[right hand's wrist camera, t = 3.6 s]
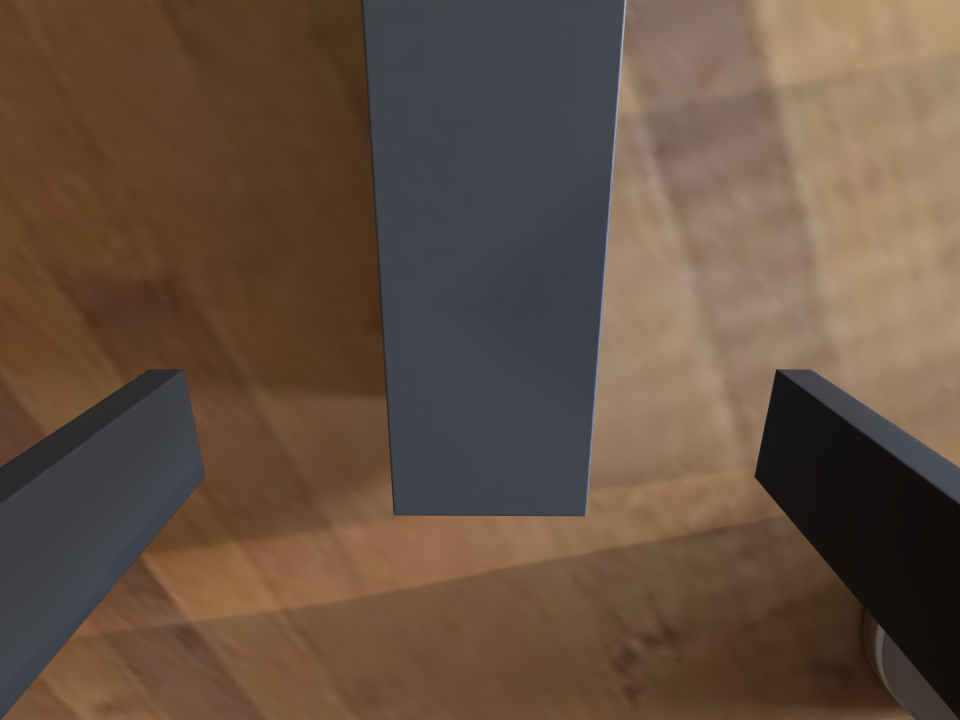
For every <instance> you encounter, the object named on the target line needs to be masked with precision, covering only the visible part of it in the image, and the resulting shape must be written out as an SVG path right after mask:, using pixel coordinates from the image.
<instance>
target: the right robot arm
mask: <svg viewBox="0 0 960 720" xmlns="http://www.w3.org/2000/svg"><path fill="white" fill-rule="evenodd" d="M204 478H205V472H204V467H203V462H202V457H201V452H200V447H199V442H198V437H197V432H196V428H195V423H194V418H193V413H192V408H191V403H190V398H189V393H188V388H187V383H186V378H185V374H184V370H148V371H146V372H145V373H143V374H142V375H140V376H139V377H137V378H136V379H134V380H133V381H131V382H129V383H128V384H126V385H125V386H123V387H122V388H120V389H119V390H117V391H116V392H114V393H113V394H111V395H110V396H108V397H107V398H105V399H104V400H102V401H101V402H99V403H98V404H96V405H95V406H93V407H92V408H90V409H89V410H87V411H86V412H84V413H83V414H81V415H80V416H78V417H77V418H75V419H74V420H72V421H71V422H69V423H68V424H66V425H64V426H63V427H61V428H60V429H58V430H57V431H55V432H54V433H52V434H51V435H49V436H48V437H46V438H45V439H43V440H42V441H40V442H39V443H37V444H36V445H34V446H33V447H31V448H30V449H28V450H27V451H25V452H24V453H22V454H21V455H19V456H18V457H16V458H15V459H13V460H12V461H10V462H9V463H7V464H6V465H4V466H2V467H1V468H0V720H1V719H2V718H3V717H4V715H5V714H6V713H7V712H8V711H9V710H10V708H11V707H12V706H13V705H14V704H15V702H16V701H17V700H18V699H19V698H20V696H21V695H22V694H23V693H24V692H25V691H26V689H27V688H28V687H29V686H30V685H31V683H32V682H33V681H34V680H35V679H36V677H37V676H38V675H39V674H40V673H41V672H42V670H43V669H44V668H45V667H46V666H47V664H48V663H49V662H50V661H51V660H52V658H53V657H54V656H55V655H56V654H57V652H58V651H59V650H60V649H61V648H62V647H63V645H64V644H65V643H66V642H67V641H68V639H69V638H70V637H71V636H72V635H73V633H74V632H75V631H76V630H77V629H78V628H79V626H80V625H81V624H82V623H83V622H84V620H85V619H86V618H87V617H88V616H89V614H90V613H91V612H92V611H93V610H94V609H95V607H96V606H97V605H98V604H99V603H100V601H101V600H102V599H103V598H104V597H105V595H106V594H107V593H108V592H109V591H110V590H111V588H112V587H113V586H114V585H115V584H116V582H117V581H118V580H119V579H120V578H121V576H122V575H123V574H124V573H125V572H126V571H127V569H128V568H129V567H130V566H131V565H132V563H133V562H134V561H135V560H136V559H137V557H138V556H139V555H140V554H141V553H142V552H143V550H144V549H145V548H146V547H147V546H148V544H149V543H150V542H151V541H152V540H153V538H154V537H155V536H156V535H157V534H158V533H159V531H160V530H161V529H162V528H163V527H164V525H165V524H166V523H167V522H168V521H169V519H170V518H171V517H172V516H173V515H174V514H175V512H176V511H177V510H178V509H179V508H180V506H181V505H182V504H183V503H184V502H185V500H186V499H187V498H188V497H189V496H190V495H191V493H192V492H193V491H194V490H195V489H196V487H197V486H198V485H199V484H200V483H201V481H202V480H203V479H204ZM755 478H756V479H757V480H758V481H759V483H760V484H761V485H762V486H763V487H764V489H765V490H766V491H767V492H768V493H769V495H770V496H771V497H772V498H773V499H774V500H775V502H776V503H777V504H778V505H779V506H780V508H781V509H782V510H783V511H784V512H785V514H786V515H787V516H788V517H789V518H790V519H791V521H792V522H793V523H794V524H795V525H796V527H797V528H798V529H799V530H800V531H801V533H802V534H803V535H804V536H805V537H806V538H807V540H808V541H809V542H810V543H811V544H812V546H813V547H814V548H815V549H816V550H817V552H818V553H819V554H820V555H821V556H822V557H823V559H824V560H825V561H826V562H827V563H828V565H829V566H830V567H831V568H832V569H833V571H834V572H835V573H836V574H837V575H838V576H839V578H840V579H841V580H842V581H843V582H844V584H845V585H846V586H847V587H848V588H849V590H850V591H851V592H852V593H853V594H854V595H855V597H856V598H857V599H858V600H859V601H860V603H861V604H862V605H863V606H864V607H865V609H866V611H865V616H864V622H863V642H864V648H865V652H866V655H867V658H868V661H869V663H870V665H871V667H872V669H873V670H874V672H875V673H876V675H877V676H878V677H879V679H880V680H881V681H882V683H883V684H884V685H885V687H886V688H887V689H888V691H889V692H890V693H891V695H892V696H893V697H894V698H895V700H896V701H897V702H898V703H899V704H900V705H901V706H902V707H903V708H904V709H905V710H906V711H907V712H908V713H909V714H910V715H911V716H912V717H913V718H914V719H915V720H960V468H959V467H958V466H956V465H954V464H953V463H951V462H950V461H948V460H947V459H945V458H944V457H942V456H941V455H939V454H938V453H936V452H935V451H933V450H932V449H930V448H929V447H927V446H926V445H924V444H923V443H921V442H920V441H918V440H917V439H915V438H914V437H912V436H911V435H909V434H908V433H906V432H905V431H903V430H902V429H900V428H899V427H897V426H896V425H894V424H892V423H891V422H889V421H888V420H886V419H885V418H883V417H882V416H880V415H879V414H877V413H876V412H874V411H873V410H871V409H870V408H868V407H867V406H865V405H864V404H862V403H861V402H859V401H858V400H856V399H855V398H853V397H852V396H850V395H849V394H847V393H846V392H844V391H843V390H841V389H840V388H838V387H837V386H835V385H834V384H832V383H831V382H829V381H827V380H826V379H824V378H823V377H821V376H820V375H818V374H817V373H815V372H814V371H812V370H776V374H775V378H774V383H773V388H772V393H771V398H770V403H769V408H768V413H767V418H766V423H765V428H764V432H763V437H762V442H761V447H760V452H759V457H758V462H757V467H756V472H755Z"/></svg>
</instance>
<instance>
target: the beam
mask: <svg viewBox="0 0 960 720" xmlns="http://www.w3.org/2000/svg"><path fill="white" fill-rule="evenodd" d="M361 1H362V17H363V33H364V48H365V64H366V80H367V96H368V112H369V128H370V144H371V160H372V176H373V192H374V208H375V224H376V239H377V255H378V271H379V287H380V303H381V319H382V335H383V351H384V367H385V383H386V399H387V414H388V430H389V446H390V462H391V478H392V494H393V510H394V515H450V516H586V514H587V501H588V488H589V475H590V462H591V449H592V437H593V424H594V411H595V398H596V385H597V372H598V360H599V347H600V334H601V321H602V308H603V295H604V282H605V270H606V257H607V244H608V231H609V218H610V205H611V192H612V180H613V167H614V154H615V141H616V128H617V115H618V103H619V90H620V77H621V64H622V51H623V38H624V25H625V13H626V0H361Z"/></svg>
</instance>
